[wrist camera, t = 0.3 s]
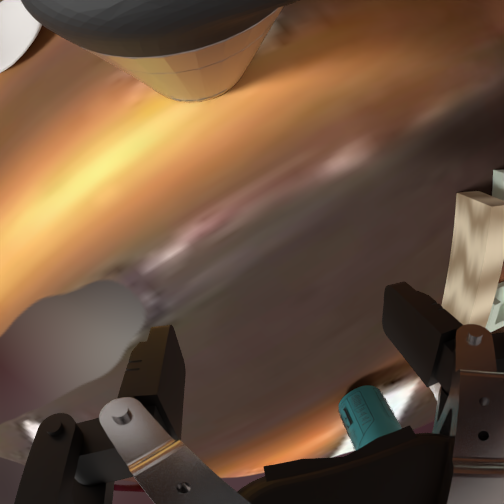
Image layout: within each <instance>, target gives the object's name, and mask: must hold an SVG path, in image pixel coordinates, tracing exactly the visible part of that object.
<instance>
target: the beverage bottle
mask: <svg viewBox="0 0 504 504" xmlns="http://www.w3.org/2000/svg"><path fill="white" fill-rule="evenodd" d="M382 394H383V393H382ZM382 394H381V391H380V389H378V388H376V387H375V386H371V385H366V386H361V387H358V388H356V389H354V390H352V391H350V392H349V393H348V394H346V395H345V396H344V397H343V398H342V400H341V401H340V403H339V410H338V413H340V415H341V416H340V417H341V418H342V421H343V423H344V424H343V425H345V426H344V427H345V428H346V430H347V433H348V436H349V437H350V438H349V439H351V440H352V443H353V445H354V448H355V450H358V449H359V448H361V447H363V446H365V445H366V444H368V443H370V442H371V441H373V440H374V439H376V438H378V437H381V436H383V435H386V434H389V433H392V432H394V431H397V430H399V429H402V428H401V426H400V424H399V423H398V421H397V419H396V418H397V417H396V418H395V416H394V414H393V413H394V412H392V411H393V410H391V409H392V408H391V407H390V406H388V404H387V401H386V398H384V397H383V395H382ZM390 408H391V409H390ZM355 450H354V451H355Z"/></svg>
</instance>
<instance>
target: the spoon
mask: <svg viewBox="0 0 504 504" xmlns="http://www.w3.org/2000/svg"><path fill="white" fill-rule="evenodd" d="M41 27H42V24H40V23H39V22H38V21H37V20H35V19H34V18H33V17H32V15H31V14H30V13H29V12H28V11H27V10H26V8H25V7H24V5H23V4H22V2H21V0H3V1H1V2H0V73H1V72H3V71H4V70H6V69H7V68H9V67H10V66H12V65H13V64H14V63H15V62H16V61H17V60H18V59H19V58H20V57H21V56H22V55H23V54H24V53H25V52H26V51H27V49H28V48H29V47H30V45H31V44H32V43H33V41H34V40H35V38H36V37H37V35H38V33H39V31H40V29H41Z"/></svg>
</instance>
